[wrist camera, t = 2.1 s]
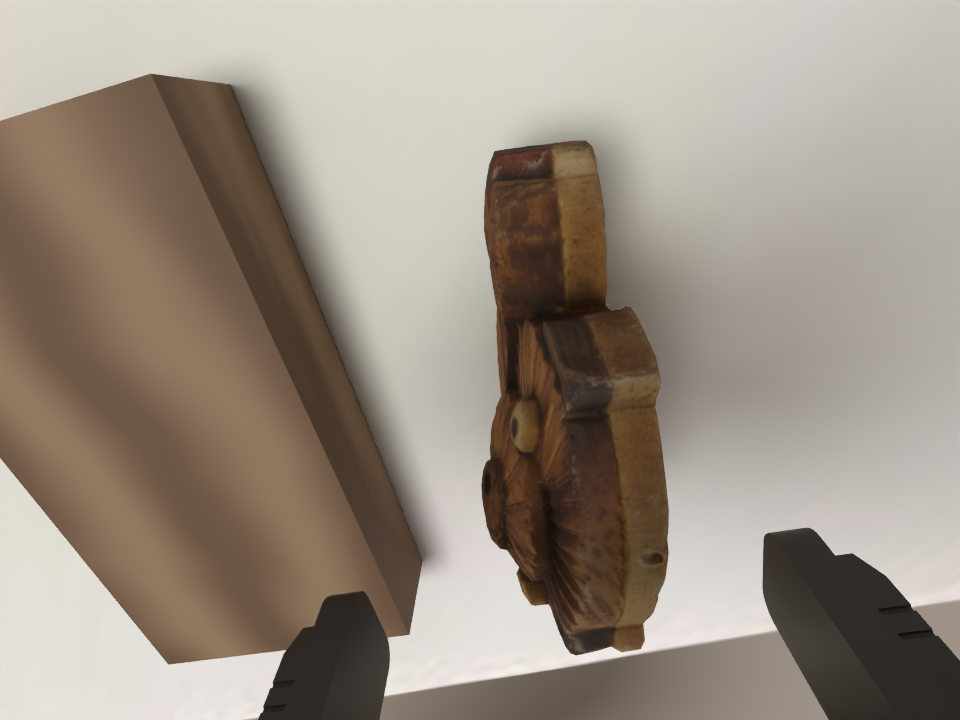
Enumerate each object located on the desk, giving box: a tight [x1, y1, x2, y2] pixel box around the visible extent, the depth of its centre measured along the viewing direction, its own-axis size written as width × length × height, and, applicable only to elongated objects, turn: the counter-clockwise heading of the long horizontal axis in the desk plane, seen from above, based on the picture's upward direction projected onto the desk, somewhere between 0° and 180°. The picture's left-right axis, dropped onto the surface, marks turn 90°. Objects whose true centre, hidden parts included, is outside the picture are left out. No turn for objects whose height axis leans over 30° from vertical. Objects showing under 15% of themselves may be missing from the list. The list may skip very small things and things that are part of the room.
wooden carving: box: [482, 141, 669, 655], centre depth 15 cm, size 16×5×10 cm, turn 11°
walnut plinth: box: [0, 74, 422, 664], centre depth 20 cm, size 12×22×4 cm, turn 14°
